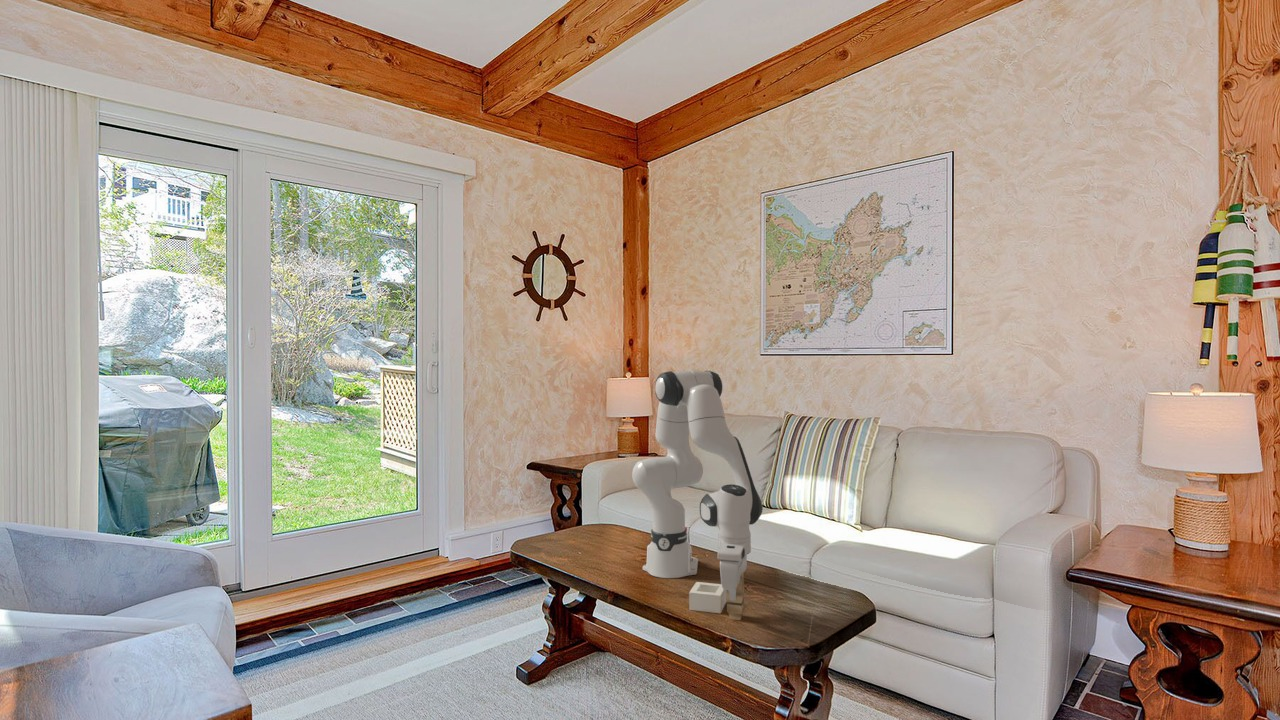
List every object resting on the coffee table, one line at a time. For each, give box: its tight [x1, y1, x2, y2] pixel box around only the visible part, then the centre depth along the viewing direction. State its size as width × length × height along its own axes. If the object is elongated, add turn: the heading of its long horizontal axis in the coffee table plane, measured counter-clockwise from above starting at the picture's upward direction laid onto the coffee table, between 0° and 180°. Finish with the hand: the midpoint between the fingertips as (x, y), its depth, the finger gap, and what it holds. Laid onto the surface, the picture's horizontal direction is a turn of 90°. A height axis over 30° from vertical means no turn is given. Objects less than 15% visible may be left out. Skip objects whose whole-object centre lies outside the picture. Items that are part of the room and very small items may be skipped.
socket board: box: [688, 581, 727, 614], centre depth 184 cm, size 9×9×5 cm
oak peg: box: [726, 573, 745, 621], centre depth 176 cm, size 4×4×12 cm
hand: (735, 595), depth 176 cm, fingers open, 5 cm apart
